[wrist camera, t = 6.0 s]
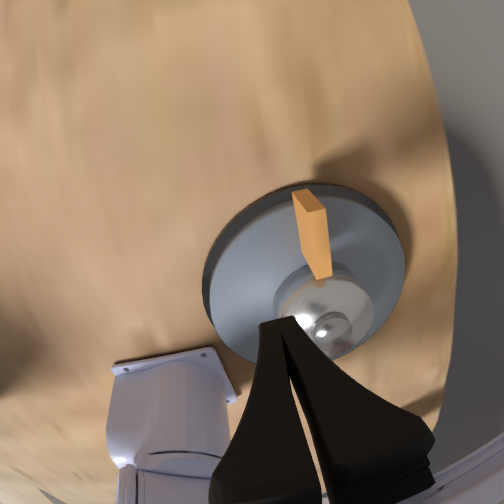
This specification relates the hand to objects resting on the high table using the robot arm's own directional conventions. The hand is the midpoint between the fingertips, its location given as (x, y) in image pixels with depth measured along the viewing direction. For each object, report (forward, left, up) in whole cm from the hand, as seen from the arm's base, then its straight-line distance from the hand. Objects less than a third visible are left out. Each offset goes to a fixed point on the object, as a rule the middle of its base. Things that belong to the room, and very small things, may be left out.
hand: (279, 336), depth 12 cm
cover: (+3, -5, -7) cm, 10 cm away
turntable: (+3, -5, -9) cm, 11 cm away
